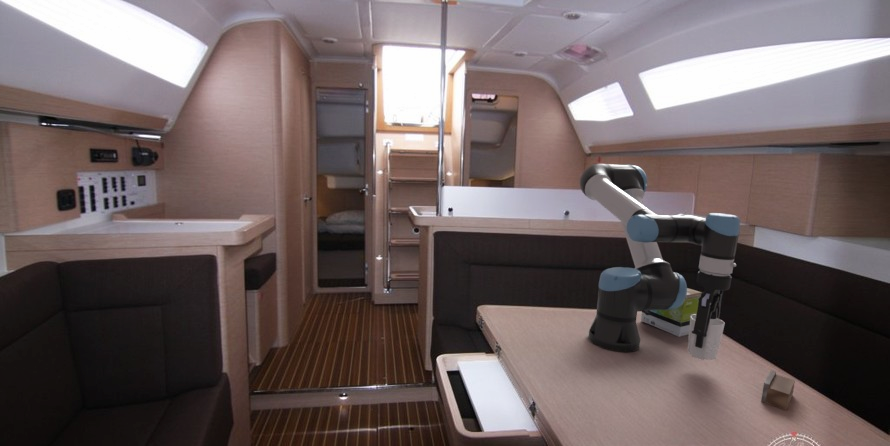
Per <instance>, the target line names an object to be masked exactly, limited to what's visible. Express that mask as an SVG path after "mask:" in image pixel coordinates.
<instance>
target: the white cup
mask: <svg viewBox="0 0 890 446" xmlns="http://www.w3.org/2000/svg"><path fill="white" fill-rule="evenodd" d="M696 315H697V314H692V315H691V316H690V325H689V334H688V338H687V339H688V343H687V345H688V347H687V352H688V353H689V355H692V351H693V345H694V338H695V334H693V333H692V331H693V330H694V325H695V320H696ZM725 324H726V323H725V321H724V320H722V319H720V318H719V319H718V318H716V319H710V323H709V326H708V331H707V336H708V337H707V343H706V349H705V356H704V360H709V361H710V360H711V361H713V360H715V359H717V357H718V356H717V355H718V351H719V349H720V346H721V341H722V338H723V337H722V336H723V333H724V328H725Z"/></svg>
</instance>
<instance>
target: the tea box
mask: <svg viewBox="0 0 890 446" xmlns="http://www.w3.org/2000/svg"><path fill="white" fill-rule="evenodd" d="M701 293H702V291H698V290H695V289H692V288H688V287H687V294H686V297H685V300H684V302H683V304H682V305H681V306H680V307H678V308H676V309H670V310H665V311H664V310H641V315H640V317H641V318H640V322H642V323H645V324H647V325H650V326H653V327H655V328H658V329H660V330H661V331H664V332H667V333H669V334H671V335H672V336H673V335H674V336H676V337H678V338H680V337H684V336H687V335H688V336H689V325H690V316H691V315H692V314H697V309H698V302H699V297H701Z"/></svg>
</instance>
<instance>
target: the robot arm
mask: <svg viewBox="0 0 890 446" xmlns="http://www.w3.org/2000/svg"><path fill="white" fill-rule="evenodd" d="M647 184H648V176H647V175H646V172H645V170H643V169H642V168H641V167H640V166H638V165H633V164H613V163H596V164H595V163H594V164H592V165H590V166H588V167H587V168H585V170H584V171H583V172H582V174H581V175H580V178H579V188H580V191H581V192H582V193H583V194H584V196H585V197H587V199H590V201H591V200H592V201H596V202H597V203H599V204H600V205H601V206H602V207H603V208H605V210H607V211H609V212H610V214H612V215H613V216H615V217H616V218H617V219H618V220H619V221H620V222H621V226H622V229H623V233H624V235H625V238H626V242H627V245H628V248H629V251H630V254H631V259H632V261H633V264H634V268H633V267H623V266H615V267H611V268H610V267H609V268H606V269H604V270H603V271H602V272H601V273H600V276H599V281H598V293H597V302H596V303H597V304H596V315H595V316H594V319H593V322H592V324H591V326H590V328H589V330H588V335H587V337H588V340H589V342H591V343H592V344H593V345H595V346H597V347H599V348H601V349H604V350H605V349H606V350H608V351H611V352H612V351H613V352H618V353H619V352H620V353H621V352H622V353H632V352H635V351H638V350H639V349H640V346H641V337H640V333H639V330H638V328H639V327H638V325H637V324H638V323H637V316H638V311H642V310H664V311H665V310H670V309H676V308H678V307H680V306H681V305H682V304H683V302H684V300H685V297H686V294H687V288H688V286H687V282H686V280H685V277H684V276H683V275H682V274H680V273H678V272H676V271H675V272H674V271H673V269H672V266H671V263H669V262H668V261H665V260H664V259H663V257H662V253H661V250H660V247H659V244H658V243H689V244H693V245H697V246H701V250H700V256H699V264H698V269H699V271H698V272H697V277H696V283H697V285H698V286H699V287H702V288H703V289H704V290H703V292H702V291H701V292H702V293H701V297H699V302H698V309H697V315H696V320H695V325H694V330H693V331H692V333H693V334H695V338H694V345H693V351H692V354H691V357H692V358H696V359H699V360H702V361H704V360H705V359H704V356H705V349H706V343H707V337H708V336H707V331H708V326H709V323H710V319H716V318H718V319H720V314H721V307H722V300H723V299H722V298H723V294H724V291H728V290H730V288H731V283H732V278H733V277H732V275H731V274H733V270H734V268H735V267H737V264H736V262H735V258H736V253H737V247H738V241H739V236H740V233H741V232H740V226H741V219H740V217H739V216H738V215H734V214H730V213H719V212H710V213H708V214H707V215H706V217H701V216H696V215H693V214H690V213H689V214H687V213H686V214H685V213H678V214H676V215H670V214H669V215H663V214H661V215H660V214H657V213H655V212H653V211H652V210H650V209H649V208H648V207H646V206H645V205H644V203H643V199H644V197H645V193H646V192H647V188H648V185H647Z"/></svg>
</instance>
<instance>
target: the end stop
mask: <svg viewBox="0 0 890 446" xmlns="http://www.w3.org/2000/svg"><path fill="white" fill-rule="evenodd" d="M795 382H796V380H795V379H792V378H789V377H786V376H783V375H779V374H777V371H776V370H772V369H771V370H770V372H769V373H768V375H767V376H766V378H765V381H763V386H762V393H761V400H760V401H761V402H762V403H764V404H767V405H770V406H773V407H775V408H779V409H782V410H783V411H788V407H789V405H790V402H791V399H792V397H793V394H794V388H795Z"/></svg>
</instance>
